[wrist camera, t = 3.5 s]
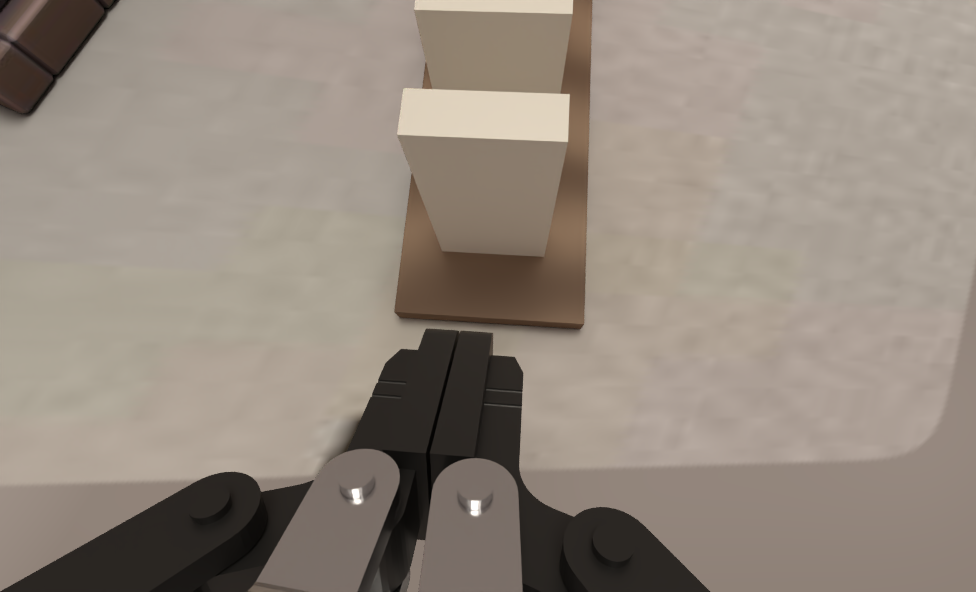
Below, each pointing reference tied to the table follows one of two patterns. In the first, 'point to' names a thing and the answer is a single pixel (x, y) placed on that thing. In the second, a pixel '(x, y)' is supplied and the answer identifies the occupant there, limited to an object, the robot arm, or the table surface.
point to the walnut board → (512, 278)
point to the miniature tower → (40, 44)
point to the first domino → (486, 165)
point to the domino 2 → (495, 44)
